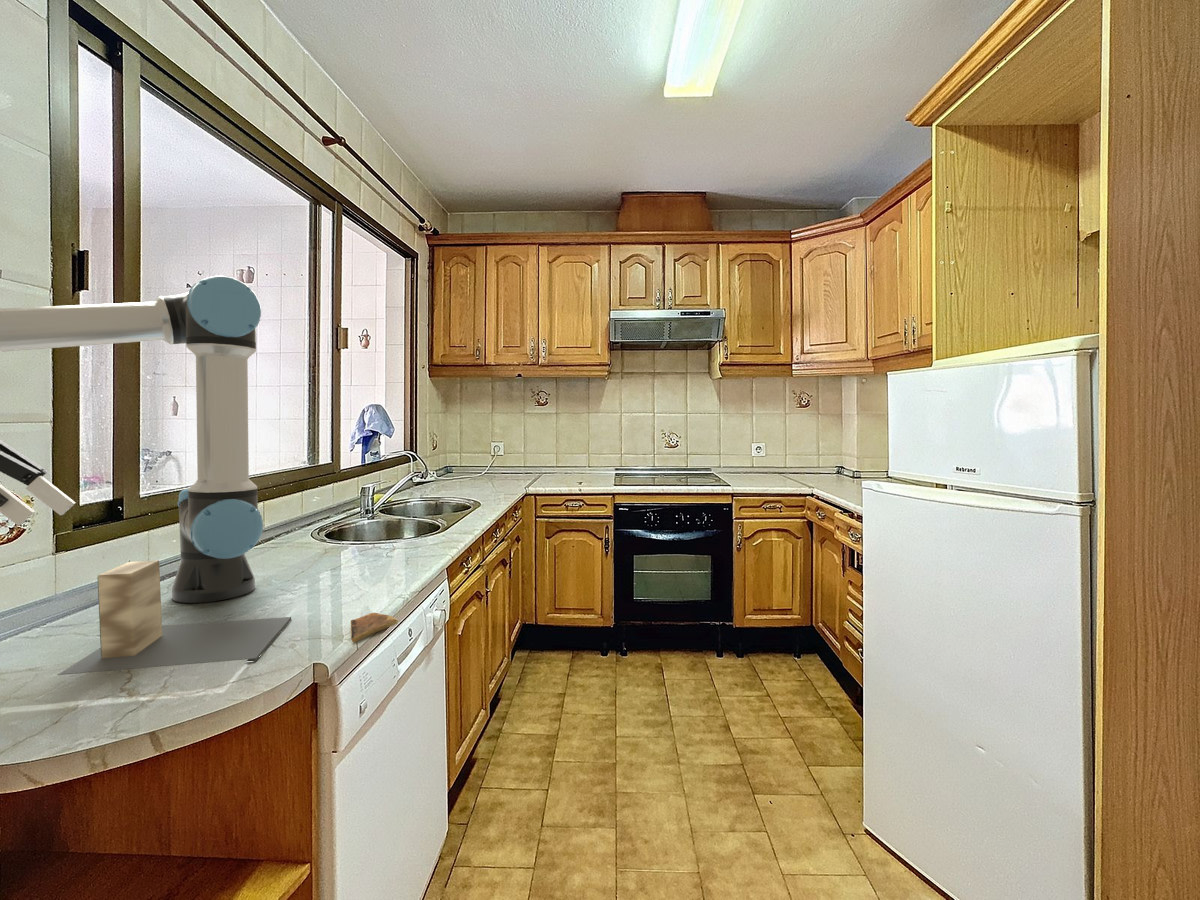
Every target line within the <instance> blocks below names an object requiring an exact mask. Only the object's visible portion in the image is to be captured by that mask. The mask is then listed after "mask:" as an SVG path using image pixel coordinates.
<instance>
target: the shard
mask: <svg viewBox="0 0 1200 900" xmlns="http://www.w3.org/2000/svg"><path fill="white" fill-rule="evenodd" d="M398 623H399V620H398V619H397V618H396V617H393V616H391V615H388V614H383V613H379V612H371V613H367V614H365V615H364V616H360V617H358V618H355V619H351V620H350V640H351V642H353V643H356V642H358V641H360V640H362V639H364V638H366V637H368V636H371V635H372V634H375V633H377V632H380V631H382V630H385V629H388V628H390V627H393V626H395V625H396V624H398Z"/></svg>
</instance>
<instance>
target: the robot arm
mask: <svg viewBox="0 0 1200 900" xmlns="http://www.w3.org/2000/svg"><path fill="white" fill-rule="evenodd" d="M261 317H262V307H261V303H260V300H259V298H258V296H257V294H256V293H255V291H254V290H252V289H251V288H250V287H249V286H248V285H247V284H245V282H243V281H241V280H239V279H237V278H234V277H230V276H227V275H226V276H225V275H214V276H213V275H212V276H208V277H206V278H202V279H200V280H198V281H197V282H195V283H194V284H193V285H192V286H191V287H190V289H189V291H188V292H185V293H181V294H176V295H175V294H174V295H160V296H158V297H157V298H156V299H155V300H154V301H144V302H122V303H121V302H120V303H99V304H98V303H97V304H75V305H73V304H71V305H55V306H54V305H53V306H52V305H51V306H29V307H27V306H26V307H6V308H5V307H4V308H1V307H0V351H2V352H1V353H3V352H15V351H16V352H17V351H18V352H19V351H30V350H31V351H32V350H44V349H57V348H60V349H61V348H70V347H72V348H73V347H85V346H96V345H97V346H98V345H111V344H124V343H125V344H126V343H137V342H140V343H141V342H152V341H165V342H166V343H167V344H169V345H179V344H181V345H182V344H185V346H186V348H187V349H188V350H189V351H190V352H192V354H194V356H195V381H196V382H195V383H196V384H195V386H196V388H195V389H196V390H195V393H196V394H195V395H196V401H195V402H196V451H197V453H196V458H197V459H196V463H197V464H196V465H197V469H196V470H197V480H196V481H195V482H194V483H193V484H192V485H190V487H189V488H186V489H182V490H181V491H179V494H178V500H177V507H178V517H179V521H178V522H179V544H180V545H179V548H180V551H179V552H180V562H179V565H178V569H177V571H176V575H175V578H174V581H173V582H172V588H171V598H172V600H173V601H174V602H177V603H183V604H185V603H186V604H197V603H199V604H200V603H208V602H209V603H210V602H211V603H212V602H218V601H224V600H228V599H233V598H237V597H238V598H239V597H240V596H243V595H246V594H249V593H251V592H253V591H254V590H255V589H256V578H255V575H254V573H253V571H252V568H251V567H250V564H249V561H248V559H247V556H246V553H248V552H249V551H250V550H252V549H253V548H254V547H255V546H256V545H257V544H258V542H259V541H260V539H261V537H262V534H263V530H264V521H263V517H262V514H261V512H260V511H259V508H258V507H259V503H258V500H259V498H258V497H259V496H258V494H259V493H258V486H257V485H256V484H255V483H254V482H253V481H252V480H251V479H250V478H249V477H250V473H249V472H250V471H249V468H250V466H249V390H248V389H249V388H248V386H249V384H248V383H249V381H248V380H249V379H248V377H249V376H248V374H249V373H248V365H249V363H248V362H249V361H248V360H249V359H250V357H251V356H252V355H253V354H255V353H256V352H257V327H258V326H259V324H260V321H261ZM0 473H2V474H4V475H6V476H7V477H10V478H11V479H14V480H16V481H18V482H20V483H22V484H24V485H25V486H26V487H25V490H27V491H28V492H30V493H31V494H32V495H33V496H34V497H36V498H37V499H38V500H40V501H41V502H42V503H44V504H45V505H46V506H47V507H49V508H50V509H51V510H52V511H54V512H55V513H56V514H58V515H59V516H64V515H65V514H66V513H67V511H69V510H70V509H71V508H72V507H73V506H75V505H76V503H77V502H76V501H75V500H74V499H72V498H71V497H69V496H68V495H67V494H65V493H64V491H62V490H60V489H59V488H58V487H57V486H55V485H54V484H53V483H51V482H50V481H49V480H48V479H47V478H45V477H44V476H45V475H46V474H48V469H46V468H45V467H43V466H41V464H38V463H37V462H35V461H34V460H32V459H31V458H29V457H28V456H26V455H25V454H23V453H22V452H20V451H18V450H17V449H15V448H14V447H12V446H11V445H10V444H7V443H6V442H4V441H3V440H2V439H1V438H0ZM36 512H37V511H36V510H35V509H33V508H32V507H31V506H29V504H27V503H26V502H24V501H23V500H22V499H20V497H17V496H16V495H15V494H14V493H13V492H11V491H10V490H9V489H8V488H6V487H4V486H3V485H2V483H0V514H2V515H3V516H4V517H6V518H7V519H8V520H10V521H11V522H12V523H14V524H15V525H16V526H21V525H23V524H24V523H25V522H26V521H27V520H29V518H31V516H33V515H34V514H35V513H36Z"/></svg>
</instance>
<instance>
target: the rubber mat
mask: <svg viewBox="0 0 1200 900" xmlns="http://www.w3.org/2000/svg"><path fill="white" fill-rule="evenodd" d="M291 621H292V616H289V617H288V616H286V617H285V616H283V617H271V618H259V619H258V618H256V619H255V618H254V619H244V620H242V619H241V620H240V619H239V620H231V621H230V620H227V621H215V622H214V621H213V622H202V623H186V624H171V625H170V624H169V625H162V636H161V637H160V638H158V639H157V640H155V641H154V642H153V643H151V644H150V645H149V646H147V647H146V648H144V649H143V650H142V651H140V652H139V653H137V654H136V655H135V656H124V657H111V658H102V656H101V647H99V648H97V649H95V651H93V652H91V653H90V654H88V655H87V656H85V657H84V658H82V659H80V660H79V661H77V662H75V663H73V664H72V665H71V666H69V667H67V668H66V669H65V670H64V669H63V671H61V672H60V673H58V674H57V676H61V675H72V674H73V675H74V674H83V673H84V674H85V673H95V672H108V671H122V670H132V669H146V668H155V667H157V668H158V667H169V666H180V665H192V664H193V665H194V664H203V663H204V664H205V663H215V662H216V663H217V662H218V663H219V662H229V661H239V660H241V661H243V660H246V661H256V660H257V659H258V658H259V656H260V655H261V654H262V653H263V652H264V651H265V652H266V651H267V649H268V648H269V647H270V646H271V645H272V643H273V642H274V641H276V639H277V638H276V637H279V635H280V634H281V633H282V632H283V631H284V630H285V628H286V627H287V626H288V625H289V623H290V622H291ZM281 631H282V632H281ZM270 644H271V645H270ZM269 645H270V646H269ZM268 646H269V647H268ZM266 648H267V649H266ZM265 652H264V653H265ZM264 653H263V654H264ZM263 654H262V655H263ZM262 655H261V656H262ZM261 656H260V657H261ZM259 659H260V658H259ZM259 659H258V660H259ZM258 660H257V661H258ZM257 661H256V662H257Z"/></svg>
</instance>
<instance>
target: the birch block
mask: <svg viewBox="0 0 1200 900" xmlns="http://www.w3.org/2000/svg"><path fill="white" fill-rule="evenodd" d="M97 596H98V619H99V637H100V638H99V641H100V648H101V656H102V658H111V657H124V656H135V655H136V654H137V653H139V652H140V651H142V650H143V649H144V648H146V647H147V646H149V645H150V644H151V643H153V642H154V641H155V640H157V639H158V638H160V637H161V636H162V626H163V624H162V622H163V620H162V616H163V615H162V597H161V596H162V595H161V571H160V560H159V559H158V560H156V559H155V560H141V561H139V560H137V561H127V562H126V563H123V564H121V565H119V566H116V567H115V568H112V569H109V570H107V571H104V572H102V573H100V574H97Z"/></svg>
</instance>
